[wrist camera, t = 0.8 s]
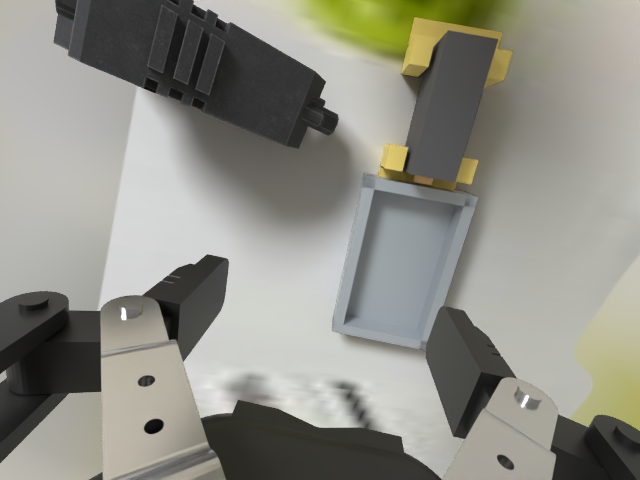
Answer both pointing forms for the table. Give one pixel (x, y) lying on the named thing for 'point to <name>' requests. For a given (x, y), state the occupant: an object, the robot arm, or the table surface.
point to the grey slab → (447, 106)
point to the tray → (400, 259)
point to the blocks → (414, 65)
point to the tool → (197, 63)
